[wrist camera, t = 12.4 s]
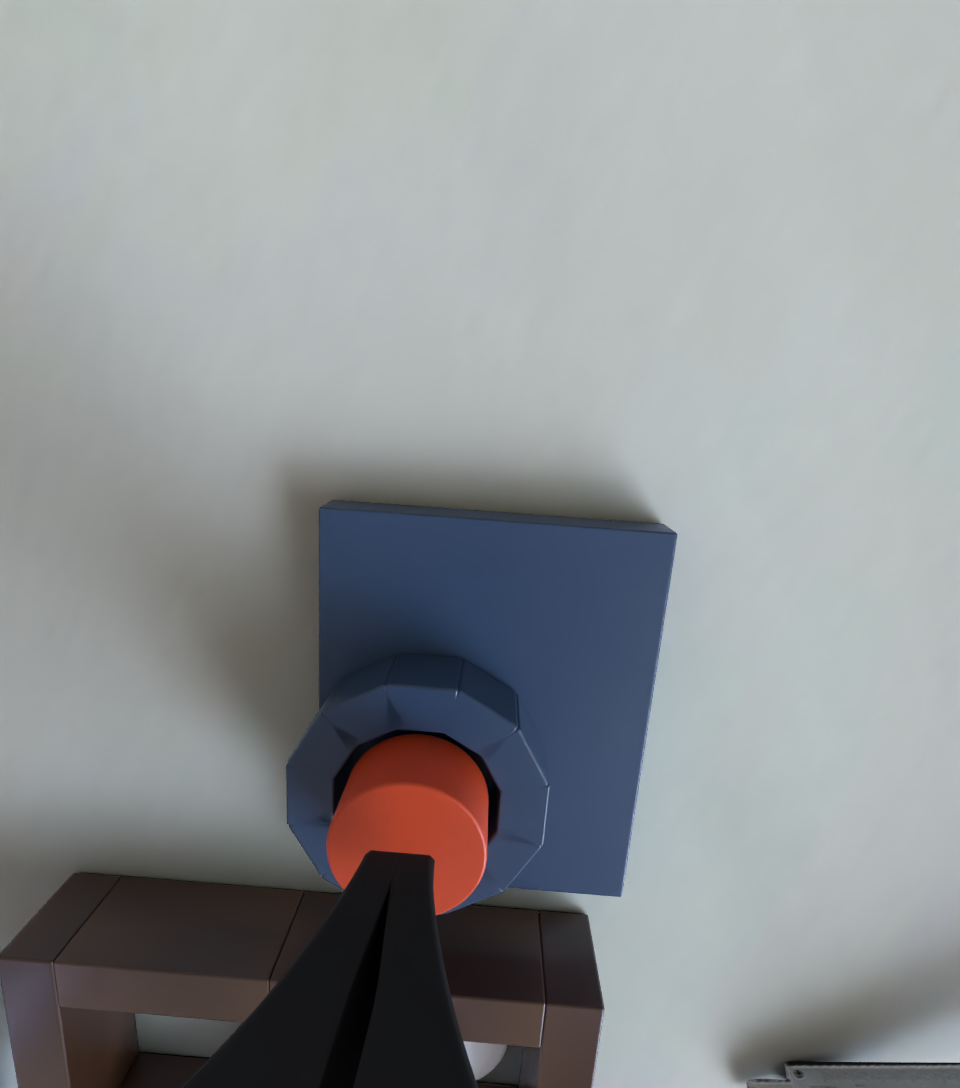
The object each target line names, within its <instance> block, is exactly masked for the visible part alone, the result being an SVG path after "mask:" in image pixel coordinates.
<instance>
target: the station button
mask: <svg viewBox="0 0 960 1088" xmlns="http://www.w3.org/2000/svg"><path fill="white" fill-rule="evenodd" d="M487 841H488V789H487V785H486V781H485V778H484V776H483V774H482V772H481V770H480V769H479V767H478V766H477V764H476V763H475V762H474V760H473V759H472V758H471V757H470V756H469V755H468V754H467V753H466V752H465V751H463V750H462V749H461V748H459V747H458V746H456V745H454V744H452V743H451V742H449V741H446V740H444V739H441V738H438V737H435V736H431V735H424V734H406V735H399V736H395V737H391V738H389V739H386V740H384V741H382V742H380V743H378V744H376V745H374V746H373V747H371V748H370V749H369V750H368V751H366V752H365V753H364V754H363V755H362V756H361V757H360V759H359V760H358V761H357V762H356V764H355V766H354V767H353V769H352V772H351V774H350V776H349V779H348V781H347V784H346V786H345V789H344V791H343V794H342V796H341V799H340V801H339V804H338V806H337V809H336V811H335V814H334V816H333V819H332V821H331V824H330V826H329V829H328V834H327V841H326V849H327V857H328V862H329V865H330V868H331V871H332V873H333V875H334V877H335V879H336V880H337V882H338V883H339V885H340V886H341V887H342V889H343V890H345V888H346V887H347V885H348V884H349V882H350V880H351V879H352V877H353V875H354V874H355V872H356V870H357V868H358V867H359V865H360V863H361V861H362V859H363V857H364V855H365V854H366V853H368V852H369V851H370V850H375V851H387V852H399V853H411V854H423V855H430V856H431V857H432V858H433V859H434V860H435V868H434V885H433V887H434V902H435V912H436V915H439V914H442V913H444V912H446V911H449V910H451V909H453V908H454V907H456V906H457V905H459V904H460V903H462V902H463V901H464V900H465V899H467V897H468V896H469V895H470V894H471V893H472V892H473V891H474V889H475V888H476V887H477V885H478V884H479V882H480V880H481V878H482V876H483V873H484V870H485V867H486V861H487Z"/></svg>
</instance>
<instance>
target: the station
mask: <svg viewBox="0 0 960 1088" xmlns="http://www.w3.org/2000/svg"><path fill="white" fill-rule="evenodd" d="M676 540H677V533H676V532H674V531H673V530H671V529H670V528H668V527H667V526H666V525H664V524H657V523H643V522H630V521H616V520H602V519H588V518H575V517H561V516H547V515H533V514H519V513H506V512H492V511H478V510H464V509H451V508H437V507H423V506H409V505H396V504H382V503H368V502H354V501H341V500H332V501H330V502H328V503H327V504H325V505H323V506H321V507H320V508H319V711H318V713H317V714H316V716H315V717H314V719H313V720H312V722H311V723H310V725H309V726H308V728H307V730H306V731H305V733H304V735H303V736H302V738H301V740H300V741H299V743H298V745H297V747H296V748H295V750H294V752H293V753H292V755H291V757H290V758H289V760H288V763H287V765H286V782H287V824H289V827H290V829H291V831H292V832H293V834H294V835H295V837H296V838H297V840H298V841H299V843H300V844H301V846H302V847H303V849H304V851H305V852H306V854H307V855H308V857H309V858H310V860H311V861H312V863H313V864H314V866H315V867H316V869H317V871H318V872H319V874H320V875H322V877H323V878H324V879H325V880H327V881H329V882H331V883H333V884H334V885H336V886H338V887H340V888H341V889H342V887H341V886H340V885H339V883H338V882H337V880H336V879H335V877H334V875H333V873H332V871H331V868H330V865H329V862H328V857H327V849H326V841H327V834H328V829H329V826H330V824H331V821H332V819H333V816H334V814H335V811H336V809H337V806H338V804H339V801H340V799H341V796H342V794H343V791H344V789H345V786H346V784H347V781H348V779H349V776H350V774H351V772H352V769H353V767H354V766H355V764H356V762H357V761H358V760H359V759H360V757H361V756H362V755H363V754H364V753H365V752H366V751H368V750H369V749H370V748H371V747H373V746H374V745H376V744H378V743H380V742H382V741H384V740H386V739H389V738H391V737H395V736H399V735H406V734H424V735H431V736H435V737H438V738H441V739H444V740H446V741H449V742H451V743H452V744H454V745H456V746H458V747H459V748H461V749H462V750H463V751H465V752H466V753H467V754H468V755H469V756H470V757H471V758H472V759H473V760H474V762H475V763H476V764H477V766H478V767H479V769H480V770H481V772H482V774H483V776H484V778H485V781H486V785H487V789H488V841H487V861H486V867H485V870H484V873H483V876H482V878H481V880H480V882H479V884H478V885H477V887H476V888H475V889H474V891H473V892H472V893H471V894H470V895H469V896H468V897H467V899H465V900H464V901H463V902H462V903H460V904H459V905H457V906H456V907H454V908H453V909H451V910H449V911H446V912H444V914H447V913H449V912H452V911H455V910H457V909H460V908H462V907H465V906H468V905H470V904H473V903H476V902H478V901H481V900H484V899H486V898H489V897H492V896H494V895H497V894H500V893H502V892H503V891H504V890H506V888H520V889H532V890H544V891H556V892H568V893H580V894H592V895H605V896H617V897H621V896H622V891H623V885H624V878H625V872H626V865H627V859H628V852H629V846H630V839H631V833H632V826H633V820H634V813H635V807H636V800H637V794H638V787H639V781H640V774H641V768H642V761H643V755H644V748H645V742H646V735H647V729H648V722H649V716H650V709H651V703H652V696H653V690H654V683H655V677H656V670H657V664H658V657H659V651H660V644H661V638H662V631H663V625H664V618H665V611H666V605H667V598H668V592H669V585H670V579H671V572H672V566H673V559H674V553H675V546H676ZM442 914H443V913H442ZM442 914H440V915H442Z"/></svg>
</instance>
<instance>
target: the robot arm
mask: <svg viewBox="0 0 960 1088" xmlns="http://www.w3.org/2000/svg"><path fill="white" fill-rule="evenodd" d="M434 868H435V860H434V859H433V858H432V857H431V856H430V855H423V854H411V853H399V852H387V851H375V850H370V851H369V852H368V853H366V854H365V855H364V857H363V859H362V861H361V863H360V865H359V867H358V868H357V870H356V872H355V874H354V875H353V877H352V879H351V880H350V882H349V884H348V885H347V887H346V888H345V890H344V892H343V893H342V895H341V896H340V898H339V899H338V901H337V902H336V904H335V906H334V907H333V909H332V910H331V911H330V913H329V914H328V916H327V917H326V919H325V920H324V921H323V923H322V924H321V926H320V927H319V929H318V930H317V931H316V933H315V934H314V936H313V937H312V938H311V940H310V941H309V943H308V944H307V945H306V947H305V948H304V949H303V951H302V952H301V953H300V954H299V956H298V957H297V958H296V960H295V961H294V962H293V963H292V965H291V966H290V967H289V968H288V970H287V971H286V972H285V974H284V975H283V976H282V977H281V979H280V980H279V981H278V983H277V984H276V985H275V986H274V987H273V989H272V990H271V991H270V992H269V993H268V995H267V996H266V997H265V998H264V999H263V1001H262V1002H261V1003H260V1004H259V1005H258V1006H257V1008H256V1009H255V1010H254V1011H253V1012H252V1013H251V1014H250V1016H249V1017H248V1018H247V1019H246V1020H245V1021H244V1022H243V1023H242V1024H241V1026H240V1027H239V1028H238V1029H237V1030H236V1031H235V1032H234V1033H233V1034H232V1035H231V1037H230V1038H229V1039H228V1040H227V1041H226V1042H225V1043H224V1044H223V1045H222V1046H221V1047H220V1048H219V1049H218V1050H217V1051H216V1052H215V1053H214V1054H213V1055H212V1056H211V1057H210V1058H209V1059H208V1060H207V1062H206V1063H205V1064H204V1065H203V1066H202V1067H201V1068H200V1069H199V1070H198V1071H197V1072H196V1073H195V1074H194V1075H193V1076H192V1077H191V1078H190V1079H189V1080H188V1081H187V1082H186V1083H185V1084H184V1085H183V1086H182V1087H181V1088H478V1085H477V1082H476V1079H475V1076H474V1073H473V1070H472V1067H471V1064H470V1061H469V1058H468V1055H467V1051H466V1048H465V1045H464V1042H463V1038H462V1035H461V1031H460V1028H459V1024H458V1021H457V1017H456V1013H455V1009H454V1006H453V1002H452V997H451V993H450V989H449V985H448V981H447V976H446V972H445V967H444V962H443V957H442V951H441V945H440V940H439V934H438V928H437V921H436V912H435V902H434V887H433V885H434Z"/></svg>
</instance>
